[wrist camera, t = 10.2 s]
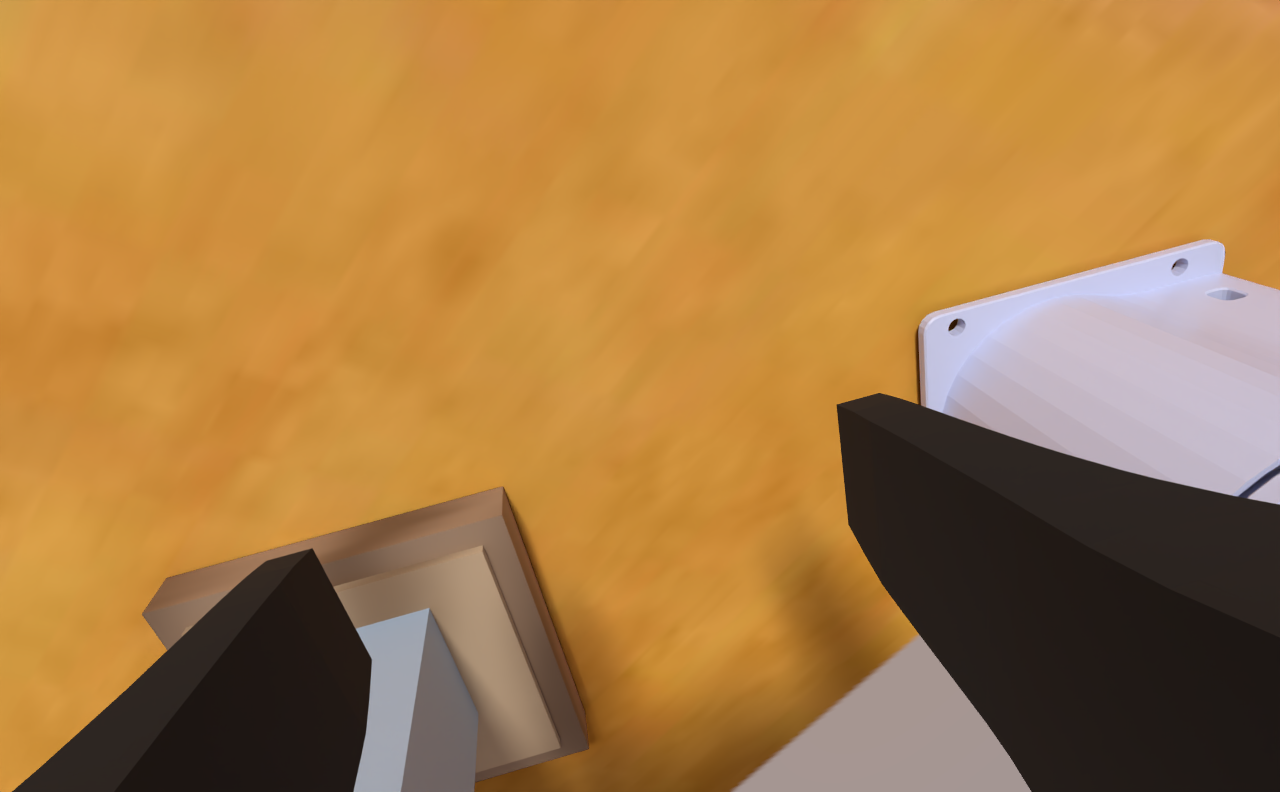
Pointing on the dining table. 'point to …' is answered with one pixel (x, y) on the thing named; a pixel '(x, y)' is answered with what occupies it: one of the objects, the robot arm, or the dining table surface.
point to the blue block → (416, 711)
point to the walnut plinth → (437, 615)
